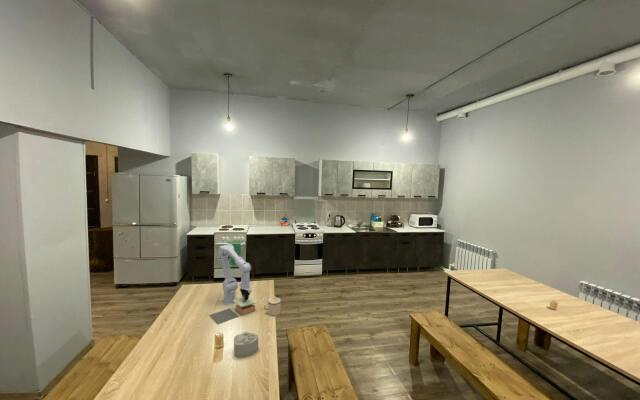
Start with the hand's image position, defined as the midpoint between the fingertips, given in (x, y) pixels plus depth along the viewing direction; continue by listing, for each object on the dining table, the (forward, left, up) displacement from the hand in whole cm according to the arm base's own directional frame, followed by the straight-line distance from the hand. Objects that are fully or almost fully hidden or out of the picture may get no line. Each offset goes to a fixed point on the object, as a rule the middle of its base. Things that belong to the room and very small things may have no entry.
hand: (245, 298), depth 193 cm
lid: (0, -1, -2) cm, 2 cm away
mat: (-2, -15, -9) cm, 17 cm away
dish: (0, 0, -9) cm, 9 cm away
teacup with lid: (+15, +13, -9) cm, 22 cm away
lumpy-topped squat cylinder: (+40, -20, -9) cm, 45 cm away
